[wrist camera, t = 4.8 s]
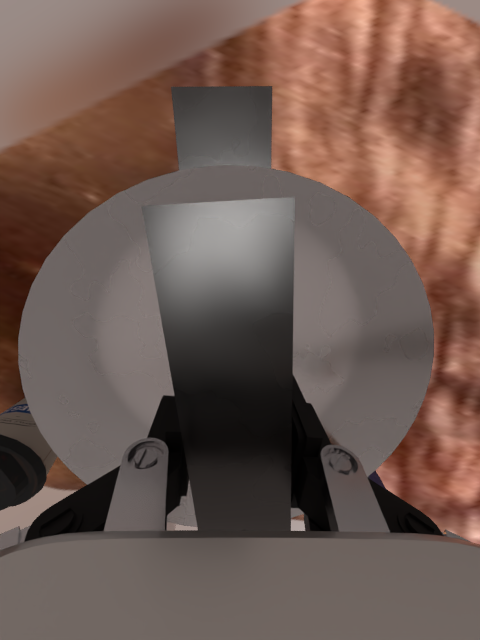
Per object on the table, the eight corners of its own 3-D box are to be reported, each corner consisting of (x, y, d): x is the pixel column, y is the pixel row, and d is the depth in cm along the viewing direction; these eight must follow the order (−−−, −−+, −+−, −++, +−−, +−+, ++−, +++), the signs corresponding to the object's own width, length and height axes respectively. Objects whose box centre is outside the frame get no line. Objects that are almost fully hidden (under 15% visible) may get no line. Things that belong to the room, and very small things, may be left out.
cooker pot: (333, 156, 21) (461, 71, 10) (312, 412, 30) (366, 525, 18) (108, 160, 20) (-39, 72, 9) (154, 422, 29) (109, 546, 17)
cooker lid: (-33, 186, 10) (-385, 127, 4) (453, 159, 10) (724, 77, 5) (94, 522, 16) (25, 677, 11) (388, 492, 17) (470, 624, 11)
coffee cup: (91, 431, 29) (27, 530, 19) (25, 415, 28) (-79, 512, 18) (104, 380, 27) (38, 463, 17) (32, 361, 25) (-80, 439, 16)
